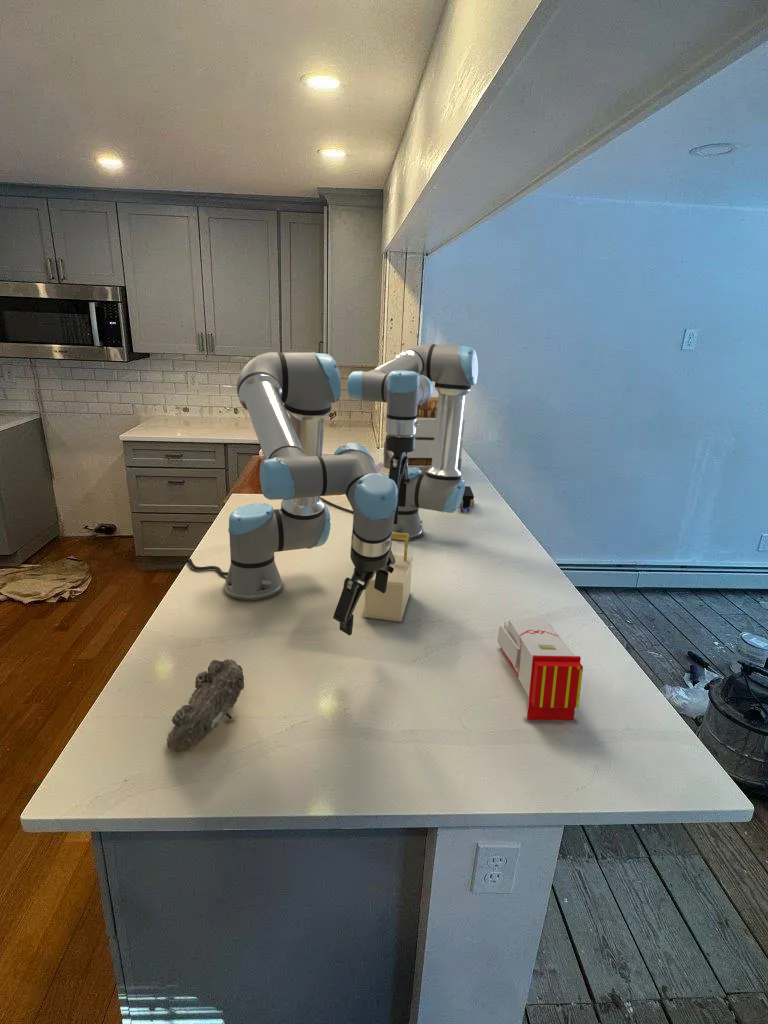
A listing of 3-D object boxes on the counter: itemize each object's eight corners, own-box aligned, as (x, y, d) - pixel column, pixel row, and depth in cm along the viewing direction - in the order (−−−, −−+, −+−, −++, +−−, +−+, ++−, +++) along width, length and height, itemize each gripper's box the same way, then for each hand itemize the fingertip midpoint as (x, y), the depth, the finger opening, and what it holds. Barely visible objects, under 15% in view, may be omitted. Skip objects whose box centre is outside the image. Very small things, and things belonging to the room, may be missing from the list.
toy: (543, 604, 136) (592, 662, 106) (538, 656, 138) (584, 727, 109) (493, 603, 135) (528, 661, 106) (489, 655, 138) (522, 726, 109)
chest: (376, 590, 160) (377, 557, 156) (409, 594, 158) (411, 562, 155) (364, 616, 145) (365, 582, 142) (401, 621, 144) (403, 587, 140)
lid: (378, 556, 157) (379, 527, 154) (412, 560, 155) (414, 530, 152) (365, 582, 142) (366, 550, 139) (403, 586, 140) (405, 554, 138)
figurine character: (474, 517, 223) (468, 500, 237) (476, 499, 220) (470, 484, 233) (457, 516, 223) (452, 500, 236) (459, 499, 220) (454, 483, 233)
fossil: (192, 660, 117) (244, 628, 112) (224, 691, 120) (276, 661, 115) (142, 746, 98) (202, 712, 93) (182, 779, 101) (242, 748, 96)
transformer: (382, 463, 289) (386, 382, 275) (445, 464, 293) (451, 384, 279) (390, 482, 257) (394, 392, 243) (460, 483, 261) (468, 394, 247)
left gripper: (350, 596, 100) (345, 660, 115) (419, 516, 116) (406, 581, 131) (316, 576, 102) (315, 641, 117) (388, 501, 118) (379, 566, 133)
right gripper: (408, 446, 130) (403, 532, 137) (421, 426, 153) (416, 501, 160) (376, 444, 131) (372, 529, 138) (394, 424, 154) (390, 498, 161)
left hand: (363, 610), depth 124 cm, fingers open, 13 cm apart
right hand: (396, 514), depth 149 cm, fingers open, 13 cm apart
